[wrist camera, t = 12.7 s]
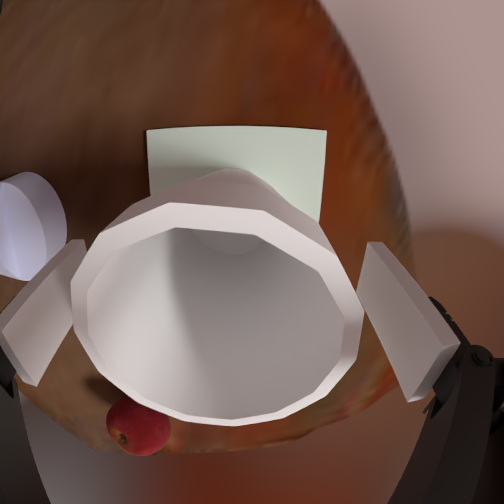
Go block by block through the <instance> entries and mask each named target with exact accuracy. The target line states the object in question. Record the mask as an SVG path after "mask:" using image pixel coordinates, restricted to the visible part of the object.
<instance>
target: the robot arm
mask: <svg viewBox="0 0 504 504" xmlns="http://www.w3.org/2000/svg"><path fill="white" fill-rule="evenodd" d="M1 6H2V0H0V12H1ZM86 254H87V251H86V247H85V242H84V239H74V240H71V241H70V242H68V243H67V244H66V245H65V246H64V247H63V248H62V249H61V250H60V251H59V252H58V253H57V254H56V255H55V256H54V257H53V258H52V259H51V260H50V261H49V262H48V263H47V264H46V265H45V266H44V267H43V268H42V269H41V270H40V271H39V272H38V273H37V274H36V275H35V276H34V277H33V278H32V279H31V280H30V281H29V282H28V283H27V284H26V285H25V286H24V288H23V289H22V290H21V291H20V292H19V293H18V294H17V295H16V296H15V297H14V298H13V299H12V300H11V301H10V302H9V303H8V305H7V306H6V307H5V308H4V309H3V311H2V312H1V313H0V504H51V503H50V501H49V498H48V496H47V494H46V491H45V489H44V486H43V483H42V481H41V478H40V475H39V473H38V470H37V467H36V464H35V460H34V457H33V454H32V451H31V447H30V444H29V440H28V436H27V432H26V428H25V424H24V419H23V414H22V409H21V404H20V398H19V393H18V386H17V382H16V380H15V378H14V377H13V376H14V375H15V373H16V372H17V373H18V375H19V376H20V377H21V379H22V380H23V382H25V383H28V384H31V385H34V386H36V387H37V385H38V383H39V381H40V379H41V377H42V376H43V374H44V372H45V370H46V368H47V366H48V365H49V363H50V361H51V359H52V358H53V356H54V354H55V352H56V351H57V349H58V347H59V346H60V344H61V342H62V340H63V339H64V337H65V336H66V334H67V332H68V331H69V329H70V327H71V326H72V324H73V314H72V301H71V280H72V278H73V276H74V275H75V273H76V271H77V269H78V268H79V266H80V264H81V263H82V261H83V259H84V257H85V256H86ZM356 293H357V295H358V297H359V299H360V301H361V303H362V305H363V307H364V309H365V311H366V313H367V315H368V317H369V319H370V321H371V323H372V325H373V327H374V329H375V331H376V333H377V335H378V337H379V339H380V341H381V344H382V346H383V348H384V350H385V352H386V354H387V356H388V359H389V361H390V363H391V365H392V368H393V370H394V372H395V374H396V377H397V379H398V381H399V383H400V386H401V388H402V390H403V393H404V395H405V398H406V400H407V402H412V401H415V400H419V399H423V398H425V397H426V396H427V394H428V393H429V391H430V390H431V389H432V388H433V389H434V392H435V394H436V395H435V396H434V398H433V399H432V400H431V402H430V403H429V404H428V405H427V407H426V408H425V409H424V411H423V413H424V414H425V413H426V412H427V410H428V409H429V411H428V414H427V417H426V420H425V422H424V425H423V428H422V431H421V433H420V436H419V439H418V441H417V444H416V446H415V448H414V451H413V453H412V455H411V458H410V460H409V462H408V464H407V467H406V469H405V471H404V473H403V475H402V477H401V479H400V481H399V483H398V485H397V487H396V489H395V491H394V493H393V495H392V496H391V498H390V500H389V502H388V503H387V504H504V358H494V357H493V355H492V354H491V353H490V352H489V351H488V350H487V349H486V348H484V347H482V346H479V345H471V344H470V343H469V341H468V340H467V338H466V337H465V336H464V335H463V333H462V331H461V330H460V329H459V327H458V326H457V324H456V323H455V322H454V321H453V319H452V318H451V317H450V315H449V314H447V311H446V310H445V309H444V307H443V306H442V305H441V304H440V303H439V302H438V301H436V300H435V299H434V298H432V297H427V296H426V294H425V293H424V292H423V291H422V289H421V288H420V287H419V285H418V284H417V283H416V282H415V280H414V279H413V278H412V277H411V275H410V274H409V273H408V272H407V271H406V269H405V268H404V267H403V266H402V265H401V263H400V262H399V261H398V260H397V259H396V257H395V256H394V255H393V254H392V253H391V252H390V250H389V249H388V248H387V247H386V246H385V245H384V244H383V243H382V242H368V243H367V248H366V252H365V257H364V262H363V266H362V270H361V275H360V279H359V283H358V287H357V291H356Z"/></svg>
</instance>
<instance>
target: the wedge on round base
mask: <svg viewBox="0 0 504 504" xmlns="http://www.w3.org/2000/svg"><path fill="white" fill-rule="evenodd" d="M66 237H67V224H66V217H65V213H64V209H63V206H62V204H61V201H60V199H59V197H58V195H57V193H56V192H55V190H54V189H53V187H52V186H51V185H50V184H49V183H48V182H47V181H46V180H45V179H44V178H43V177H41V176H40V175H38V174H36V173H32V172H22V173H19V174H17V175H14V176H12V177H10V178H7V179H5V180H3V181H1V182H0V274H1V275H5V276H8V277H12V278H15V279H19V280H23V281H30V280H31V279H32V278H33V277H34V276H35V275H36V274H37V273H38V272H39V271H40V270H41V269H42V268H43V267H44V266H45V265H46V264H47V263H48V262H49V261H50V260H51V259H52V258H53V257H54V256H55V255H56V254H57V253H58V252H59V251H60V250H61V249H62V248H63V247H64V246H65V243H66Z"/></svg>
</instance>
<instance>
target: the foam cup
mask: <svg viewBox="0 0 504 504" xmlns="http://www.w3.org/2000/svg"><path fill="white" fill-rule="evenodd" d="M71 301H72V314H73V325H74V331H75V333H76V335H77V337H78V338H79V340H80V342H81V344H82V345H83V347H84V349H85V350H86V352H87V354H88V355H89V357H90V359H91V360H92V362H93V363H94V365H95V366H96V368H97V370H98V371H99V372H100V373H101V374H102V375H103V376H104V377H106V378H107V379H108V380H109V381H110V382H112V383H113V384H114V385H115V386H117V387H118V388H119V389H120V390H122V391H123V392H124V393H126V394H127V395H128V396H130V397H131V398H132V399H134V400H135V401H136V402H138V403H140V404H142V405H144V406H147V407H149V408H152V409H154V410H157V411H159V412H162V413H164V414H167V415H169V416H172V417H175V418H177V419H180V420H183V421H188V422H196V423H204V424H213V425H224V426H240V425H246V424H253V423H259V422H265V421H270V420H275V419H280V418H284V417H286V416H288V415H290V414H292V413H294V412H296V411H298V410H300V409H302V408H304V407H306V406H308V405H310V404H312V403H314V402H315V401H317V400H319V399H321V398H323V397H325V396H326V395H327V394H328V393H329V392H330V390H331V389H332V388H333V387H334V386H335V385H336V384H337V382H338V381H339V380H340V379H341V378H342V377H343V375H344V374H345V373H346V372H347V370H348V369H349V368H350V367H351V366H352V364H353V363H354V362H355V361H356V358H357V352H358V347H359V341H360V336H361V330H362V323H363V317H364V310H363V307H362V305H361V303H360V301H359V299H358V297H357V295H356V293H355V291H354V289H353V287H352V285H351V283H350V281H349V279H348V277H347V275H346V273H345V271H344V269H343V267H342V265H341V263H340V261H339V259H338V257H337V255H336V254H335V252H334V250H333V248H332V246H331V245H330V243H329V241H328V239H327V238H326V236H325V234H324V232H323V231H322V229H321V227H320V226H319V224H318V222H317V221H316V220H314V219H313V218H311V217H310V216H308V215H306V214H305V213H303V212H302V211H300V210H299V209H297V208H296V207H294V206H292V205H291V204H290V203H289V202H288V201H287V200H285V199H284V198H283V197H282V196H281V195H280V194H279V193H278V192H277V191H276V190H275V189H274V188H273V187H272V186H270V185H269V184H268V183H267V182H266V181H264V180H263V179H261V178H260V177H258V176H256V175H255V174H253V173H251V172H250V171H248V170H242V169H231V168H224V169H221V170H219V171H216V172H213V173H211V174H208V175H206V176H203V177H201V178H199V179H196V180H187V181H185V182H182V183H180V184H178V185H175V186H173V187H170V188H168V189H166V190H163V191H161V192H159V193H156V194H154V195H152V196H150V197H147V198H145V199H143V200H141V201H138V202H136V203H134V204H132V205H131V206H130V207H128V208H127V209H126V210H125V211H124V212H123V213H122V214H120V215H119V216H118V217H117V218H116V219H115V220H114V221H112V222H111V223H110V224H109V225H108V226H107V227H106V228H105V229H104V230H103V231H101V232H100V233H99V235H98V236H97V238H96V240H95V241H94V243H93V244H92V246H91V248H90V249H89V251H88V252H87V254H86V256H85V257H84V259H83V261H82V263H81V264H80V266H79V268H78V269H77V271H76V273H75V275H74V276H73V278H72V280H71Z"/></svg>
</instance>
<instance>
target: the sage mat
mask: <svg viewBox="0 0 504 504" xmlns="http://www.w3.org/2000/svg"><path fill="white" fill-rule="evenodd" d="M326 133H327V131H325V130H315V129H303V128H288V127H267V126H202V127H181V128H166V129H154V130H147V151H148V168H149V182H150V194H151V196H152V195H154V194H156V193H159V192H161V191H163V190H166V189H168V188H170V187H173V186H175V185H178V184H180V183H182V182H185V181H187V180H196V179H199V178H201V177H203V176H206V175H208V174H211V173H213V172H216V171H219V170H221V169H224V168H231V169H242V170H248V171H250V172H251V173H253V174H255V175H256V176H258V177H260V178H261V179H263V180H264V181H266V182H267V183H268V184H269V185H270V186H272V187H273V188H274V189H275V190H276V191H277V192H278V193H279V194H280V195H281V196H282V197H283V198H284V199H285V200H287V201H288V202H289V203H290V204H291V205H292V206H294V207H296V208H297V209H299V210H300V211H302V212H303V213H305V214H306V215H308V216H310V217H311V218H313V219H314V220H316V221H317V222H318V224H319V215H320V206H321V196H322V185H323V174H324V162H325V148H326Z"/></svg>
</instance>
